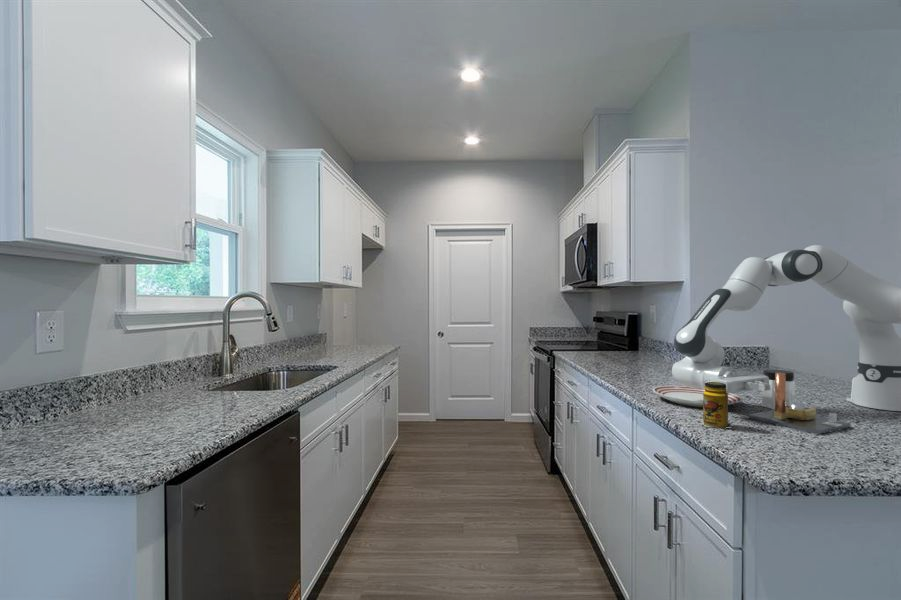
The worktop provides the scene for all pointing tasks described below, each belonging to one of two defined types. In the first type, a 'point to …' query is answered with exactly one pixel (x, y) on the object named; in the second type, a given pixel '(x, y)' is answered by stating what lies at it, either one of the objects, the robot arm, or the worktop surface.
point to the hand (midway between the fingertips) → (767, 387)
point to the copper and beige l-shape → (783, 408)
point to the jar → (769, 395)
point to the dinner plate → (688, 395)
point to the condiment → (715, 405)
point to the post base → (803, 421)
